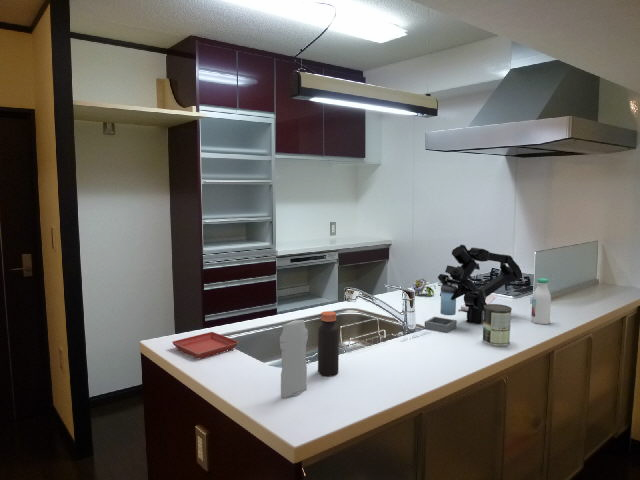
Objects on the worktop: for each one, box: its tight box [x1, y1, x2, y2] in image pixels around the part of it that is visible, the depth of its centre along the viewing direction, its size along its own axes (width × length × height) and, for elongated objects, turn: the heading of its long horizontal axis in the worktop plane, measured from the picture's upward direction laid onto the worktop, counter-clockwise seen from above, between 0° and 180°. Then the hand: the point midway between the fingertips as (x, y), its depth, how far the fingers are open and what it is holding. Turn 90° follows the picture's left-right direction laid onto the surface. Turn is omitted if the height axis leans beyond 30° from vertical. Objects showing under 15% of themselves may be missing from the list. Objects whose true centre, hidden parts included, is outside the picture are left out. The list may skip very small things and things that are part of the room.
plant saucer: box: [172, 331, 240, 359], centre depth 180 cm, size 18×18×3 cm
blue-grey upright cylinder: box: [440, 284, 458, 316], centre depth 210 cm, size 7×7×12 cm
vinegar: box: [317, 310, 340, 377], centre depth 157 cm, size 7×7×20 cm
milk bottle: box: [530, 277, 552, 325], centre depth 219 cm, size 8×8×20 cm
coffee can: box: [482, 303, 513, 347], centre depth 190 cm, size 10×10×14 cm
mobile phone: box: [458, 293, 497, 312], centre depth 243 cm, size 6×6×25 cm
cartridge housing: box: [423, 316, 458, 333], centre depth 210 cm, size 10×10×3 cm
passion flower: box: [410, 277, 437, 297], centre depth 274 cm, size 11×11×12 cm
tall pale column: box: [279, 319, 309, 399], centre depth 141 cm, size 11×4×22 cm, turn 135°
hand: (446, 297), depth 210 cm, fingers closed on blue-grey upright cylinder, 6 cm apart
